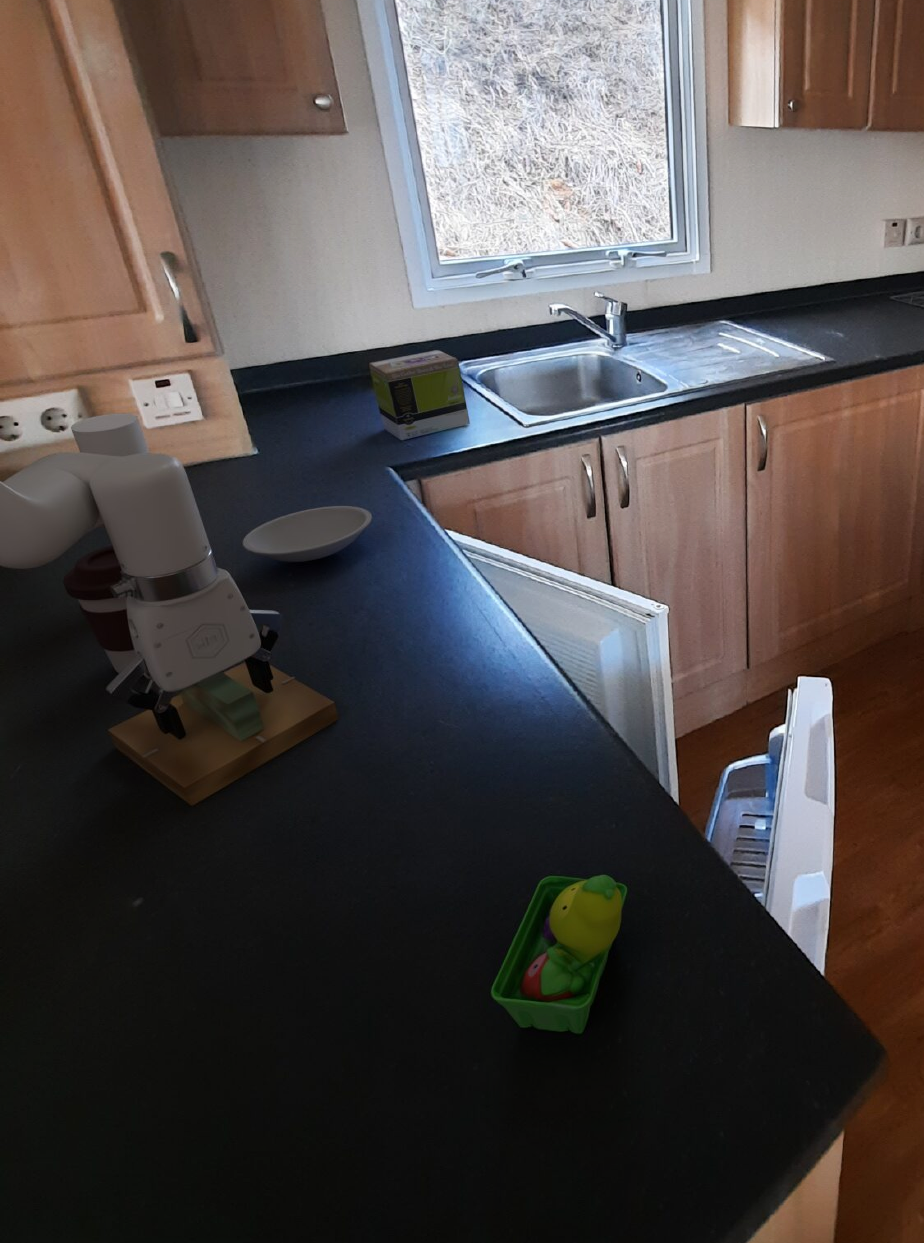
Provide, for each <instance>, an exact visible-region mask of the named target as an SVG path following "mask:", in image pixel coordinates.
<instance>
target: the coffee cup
mask: <svg viewBox="0 0 924 1243" xmlns="http://www.w3.org/2000/svg"><path fill="white" fill-rule="evenodd" d="M120 571H122V569H121V566H120V564H119V561H118V559H117V556H116V553H115V551H114V548H113V546H112V545H108V546H104V547H101V548H98V549H95V550H92V551H91V552H88V553H86V554H84V555H82V556H81V557H80V558H79V559H77V561H76V562H75V564H74V567H73V568H72V569H70V570H68V572H67V573H66V574H65V575H64V576H63V580H62V584H63V586H64V588H65V591H66V593H67V595H68V596H69V597H71V598H72V599H76V600H77V601H78V604H79V609H80V611H81V613H82V615H83V617H84V619H85V621H86V622H87V625H88V626H89V628H90V631H91V632H92V634H93V636H94V638H95V639H96V642H97V643H98V645H99V646H100V648H101V649H103V650H104V652H105V653H106V655H107V658H108V659H109V661H110V663H111V665H112V667H113V669H114V670H115V671H116V672H117V673H118V674H119V673H120V672H121V671H122V670H123V669H124V668H125V667H126V666H127V665H128V664H129V663H130V662H131V661H132V660H133V659H134V658H135V657H136V653H135V650H134V646H133V642H132V639H131V634H130V629H129V624H128V617H127V607H126V599H127V597H128V596H127V597H126V596H123V597H120V598H118V599H116V598H115V597H114V596H113V594H112V592H111V590H110V586H113V585H116V584H118V582H120V581H121V577H122V576H121V573H120ZM129 596H130V595H129ZM143 676H145V675H144V674H143V675H142V676H141V677H143Z"/></svg>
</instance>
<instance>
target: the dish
mask: <svg viewBox="0 0 924 1243" xmlns="http://www.w3.org/2000/svg"><path fill="white" fill-rule="evenodd" d="M372 520H373V516H372V513H371V512H370V511H369V510H367V509H365V508H362V507H359V506H351V505H350V506H349V505H332V506H322V507H316V508H309V509H305V510H300V511H296V512H293V513H289V514H286V515H283V516H280V517H276V518H274V519H272V520H269V521H267V522H265V523H263V524H260V525H259V526H257V527H255V528H254V529H252V530H251V531H250V532H247V534H246V535H245V537H244V538H243V539H242V546H243V548H244V549H245V550H246V551H248V552H250V553H253V554H256V555H260V556H262V557H265V558H268V559H271V560H274V561H279V562H285V563H301V562H309V561H310V562H311V561H314V560H319V559H323V558H327V557H328V556H331V555H334V554H336V553H338V552H340V551H342V550H343V549H345V548H347V547H348V546H349V545H350V544H352V543H353V542H354V541H355V540H356V539H357V538H358V537H359V536H360V534H362V532H363V531H364V530H365V529H366V528H367V527H368V526H369V525H370V524H371V523H372Z"/></svg>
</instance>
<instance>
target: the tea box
mask: <svg viewBox="0 0 924 1243" xmlns="http://www.w3.org/2000/svg"><path fill="white" fill-rule="evenodd" d="M368 366H369V373H370V376H371V380H372V383H373V384H372V385H373V388H374V392H375V397H376V401H377V405H378V406H377V407H378V410H379V414H380V419H381V422H382V426H383V428H384V430H386V431H387V432H388V433H390V434H391V435H392V436H394V437H395V438H396V439H398V440H399V441H405V440H409V439H414V438H417V437H421V436H425V435H429V434H435V433H438V432H442V431H446V430H450V429H454V428H458V427H462V426H467V425H470V424H471V422H470V417H469V412H468V405H467V400H466V394H465V390H464V385H463V380H462V374H461V369H460V364H459V359H458V358H456V357H454V356H451V355H450V354H447V353H445V352H443V351H441V350H439V349H434V350H430V351H424V352H419V353H414V354H409V355H404V356H399V357H393V358H389V359H384V360H378V361H373V362H369V363H368Z"/></svg>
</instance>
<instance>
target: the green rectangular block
mask: <svg viewBox="0 0 924 1243" xmlns="http://www.w3.org/2000/svg"><path fill="white" fill-rule="evenodd" d="M178 692H179V694H181V697H182V700H183V702H184V703H185V704H187V705H188V706H190V707H191V708H193V709H194V710H196V711H197V712H199V713H200V714H201V715H203V716H204V717H206V718H207V719H209V720H210V721H212V722H213V723H215V724H216V725H217V726H219V727H220V728H222V729H223V730H225V731H226V732H228V733H229V734H231V735H232V736H233V737H235V738H236V739H238V740H239V741H243V740H245V739H247V738H248V737H250V736H252V735H254V734H256V733H257V732H259V731H261V730H263V729H265V727H264V724H263V721H262V718H261V715H260V712H259V709H258V706H257V703H256V700H255V697H254V694H253V691H251V690H250V689H248V688H247V687H245V686H243V685H242V684H240V683H239V682H237V681H235V680H234V679H232V678H231V677H229V676H227V675H226V674H224V672H222V671H220V672H218V673H216V674H214V675H212V676H210V677H208V678H206V679H204V680H202V681H200V682H198V683H196V684H193V685H191V686H189V687H187V688H184V689H182V690H179V691H178Z"/></svg>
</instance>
